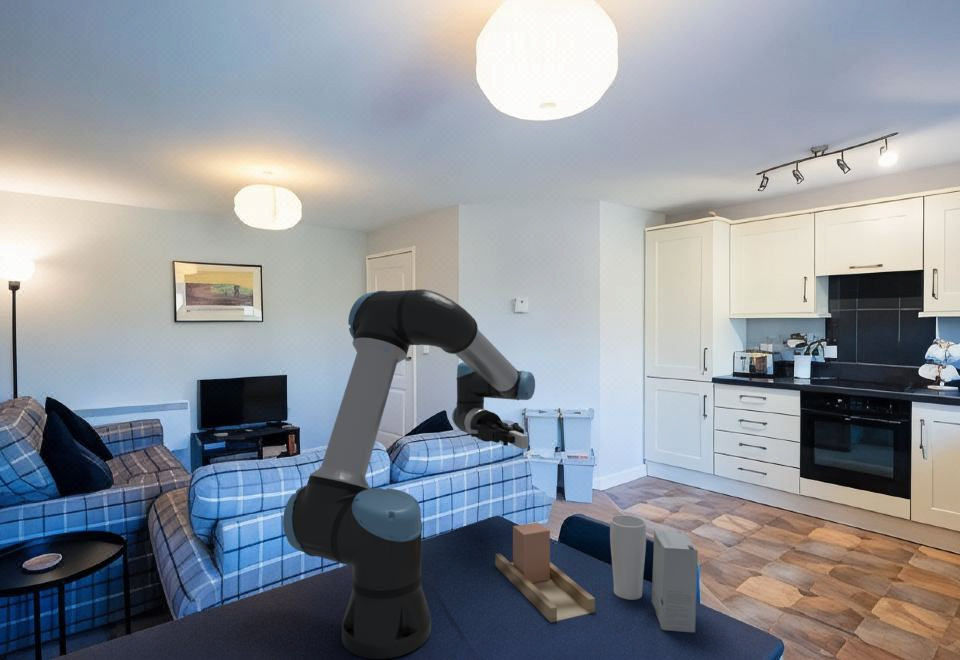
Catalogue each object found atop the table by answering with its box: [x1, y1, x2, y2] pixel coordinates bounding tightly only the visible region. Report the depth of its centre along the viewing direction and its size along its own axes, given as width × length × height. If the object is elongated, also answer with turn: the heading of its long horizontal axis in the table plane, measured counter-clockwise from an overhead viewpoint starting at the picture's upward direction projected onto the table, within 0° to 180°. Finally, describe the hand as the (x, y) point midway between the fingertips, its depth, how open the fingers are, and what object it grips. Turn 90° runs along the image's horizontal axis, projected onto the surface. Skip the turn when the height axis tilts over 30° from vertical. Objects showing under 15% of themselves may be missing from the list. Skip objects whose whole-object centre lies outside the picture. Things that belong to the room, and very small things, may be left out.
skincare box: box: [651, 529, 699, 633], centre depth 92 cm, size 8×6×15 cm
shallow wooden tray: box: [494, 553, 596, 623], centre depth 103 cm, size 24×9×3 cm, turn 22°
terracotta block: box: [512, 521, 551, 583], centre depth 106 cm, size 5×6×10 cm
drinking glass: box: [609, 514, 647, 600], centre depth 100 cm, size 7×7×15 cm
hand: (524, 442), depth 111 cm, fingers closed
